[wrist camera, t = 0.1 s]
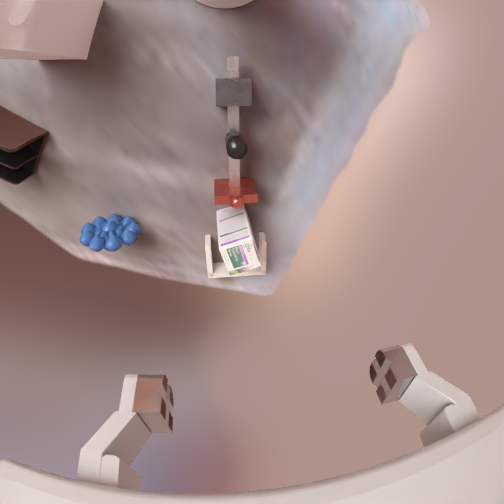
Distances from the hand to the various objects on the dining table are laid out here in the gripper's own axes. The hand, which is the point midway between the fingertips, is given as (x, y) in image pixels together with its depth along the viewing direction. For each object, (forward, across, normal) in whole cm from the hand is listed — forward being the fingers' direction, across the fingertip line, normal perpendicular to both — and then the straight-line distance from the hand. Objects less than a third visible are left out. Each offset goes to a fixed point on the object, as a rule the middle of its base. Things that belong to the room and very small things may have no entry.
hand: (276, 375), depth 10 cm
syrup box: (+48, -1, +17) cm, 51 cm away
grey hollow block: (+48, -1, -8) cm, 48 cm away
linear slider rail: (+47, -1, -2) cm, 47 cm away
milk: (+48, +29, -25) cm, 61 cm away
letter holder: (+48, +46, -7) cm, 67 cm away
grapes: (+48, +23, +16) cm, 56 cm away
